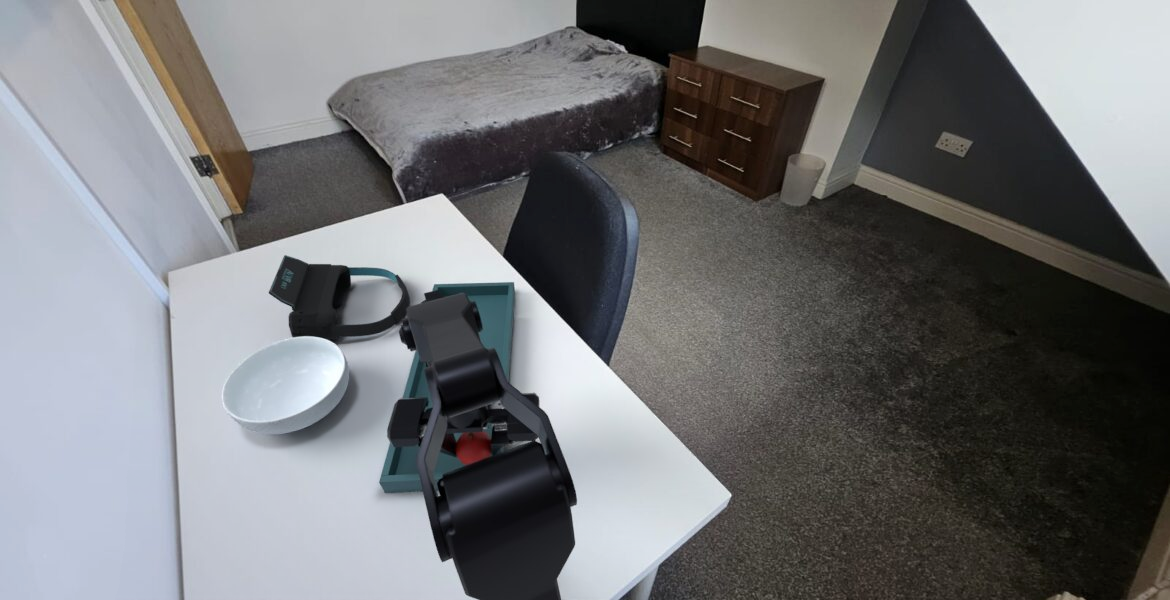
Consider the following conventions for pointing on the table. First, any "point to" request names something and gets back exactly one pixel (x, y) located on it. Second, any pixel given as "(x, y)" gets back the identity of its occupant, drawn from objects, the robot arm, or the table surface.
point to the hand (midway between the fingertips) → (475, 453)
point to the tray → (402, 461)
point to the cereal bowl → (286, 385)
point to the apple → (473, 447)
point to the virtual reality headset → (327, 298)
